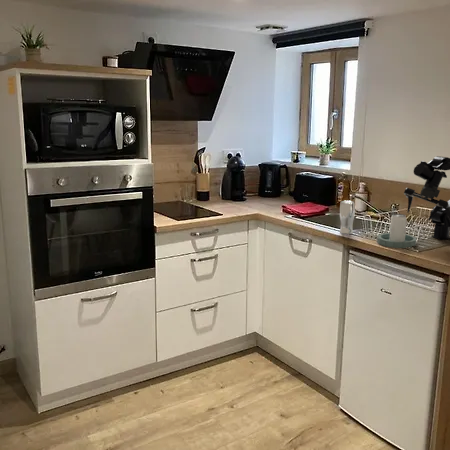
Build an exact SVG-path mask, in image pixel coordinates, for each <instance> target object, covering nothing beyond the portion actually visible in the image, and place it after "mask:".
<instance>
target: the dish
mask: <svg viewBox="0 0 450 450" xmlns="http://www.w3.org/2000/svg"><path fill="white" fill-rule="evenodd" d="M417 239H418V238H417V237H416V236H414V235H410V234H407V233H405V242H398V241H390V232H384V233H381V234H378V235H377V243H378V245H381V246H384V247H387V248H393V249H394V248H395V249H407V248H406V247H410V248H413V247H412V246H414V247H416V246H417Z"/></svg>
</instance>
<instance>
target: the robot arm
mask: <svg viewBox="0 0 450 450" xmlns="http://www.w3.org/2000/svg"><path fill="white" fill-rule="evenodd" d="M446 171H450V157H447V156H439V155H437V156H434V158H433V159H432V160H430V161H428V162H426V161H425V160H421V161H420V163H418V164H417V165H416V166H414V167H413V174H414V175H415V176H416V177H418V178H419V179H420V178H421V179H422V180H424V181H425V182H424V185H423V187H422V188H421V190H420V193H418V192H416V190H415V189H412V188H409V187H406V188H405V189H404V192H403V195H404V196H405V198H407V199H408V202H407V203H408V204H407V213H410V210H411V206H412V204H413V203H412V202H413V200H414V197H415V198H418V199H421V200H423V201H425V202H429V203H431V204H434V207H432V209H431V210H430V215H429V217H428V219H427V220H428V221H430V220H431V223H432V224H434V229H433V235H430V236H431V238H434V239H438V240H441V241H444V240H449V239H450V199H449V200H447V201H446V200H443V199H439V200H438V197H439V195H440V192H441V189H439V186H440V184H441V181H442V179H443V178H444V179H445V178H448V175H447V174H446ZM434 198H437V199H434Z"/></svg>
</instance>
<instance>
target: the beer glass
mask: <svg viewBox="0 0 450 450" xmlns="http://www.w3.org/2000/svg"><path fill="white" fill-rule="evenodd" d="M355 206H356V205H355V201H352V200H342V201H340V205H339V219H340V229H339V233H340V234H341V235H342V234H343V235H352V234H353V223H354V219H355V213H356V211H355V209H356V207H355Z"/></svg>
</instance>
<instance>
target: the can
mask: <svg viewBox="0 0 450 450" xmlns="http://www.w3.org/2000/svg"><path fill="white" fill-rule="evenodd" d="M406 217H407V215H406V214H402V213H393V214H392V215H391V217H390V226H389V233H390V241H398V242H405V234H406V231H407V230H406V229H407V218H406Z"/></svg>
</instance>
